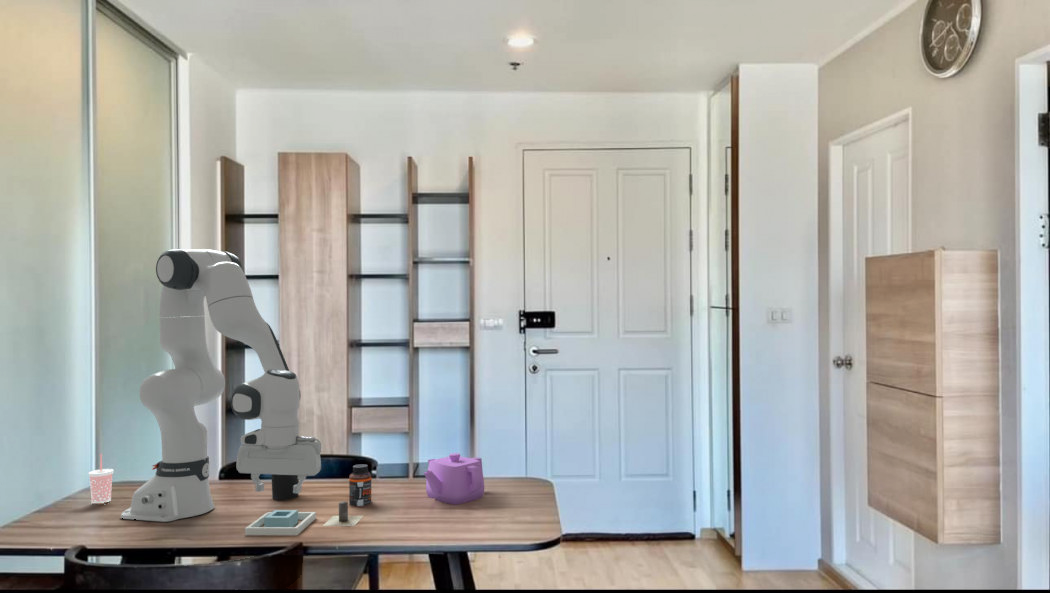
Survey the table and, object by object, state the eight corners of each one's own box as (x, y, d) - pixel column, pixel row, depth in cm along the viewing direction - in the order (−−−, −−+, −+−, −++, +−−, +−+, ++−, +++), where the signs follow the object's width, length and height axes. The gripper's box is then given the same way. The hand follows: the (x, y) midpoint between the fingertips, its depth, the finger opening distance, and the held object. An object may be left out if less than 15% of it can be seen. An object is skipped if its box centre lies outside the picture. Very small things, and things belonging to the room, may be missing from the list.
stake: (322, 529, 167) (322, 507, 167) (333, 519, 175) (332, 498, 175) (354, 529, 166) (354, 507, 166) (363, 519, 174) (363, 498, 174)
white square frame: (245, 539, 161) (244, 528, 161) (267, 522, 173) (267, 512, 173) (297, 539, 160) (297, 528, 160) (315, 522, 173) (315, 512, 173)
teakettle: (484, 504, 186) (483, 459, 187) (422, 506, 186) (421, 461, 186) (485, 488, 204) (484, 447, 204) (428, 489, 203) (427, 448, 203)
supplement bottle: (365, 510, 182) (365, 468, 182) (345, 509, 183) (345, 467, 183) (375, 504, 188) (374, 463, 188) (355, 503, 189) (354, 462, 189)
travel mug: (290, 491, 202) (289, 424, 202) (304, 496, 197) (303, 427, 197) (266, 497, 196) (265, 428, 196) (280, 502, 191) (280, 431, 192)
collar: (264, 532, 164) (264, 517, 164) (276, 522, 171) (276, 508, 171) (288, 532, 164) (288, 517, 164) (300, 522, 171) (300, 508, 171)
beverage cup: (87, 502, 193) (87, 453, 194) (112, 498, 197) (112, 450, 197) (89, 507, 189) (89, 457, 189) (115, 503, 192) (114, 453, 192)
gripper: (325, 434, 170) (324, 489, 170) (246, 431, 171) (244, 486, 171) (316, 439, 163) (315, 497, 163) (234, 436, 164) (232, 493, 164)
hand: (278, 491), depth 167 cm, fingers open, 8 cm apart
